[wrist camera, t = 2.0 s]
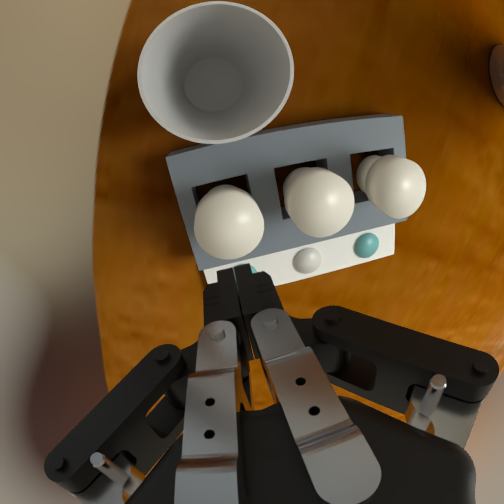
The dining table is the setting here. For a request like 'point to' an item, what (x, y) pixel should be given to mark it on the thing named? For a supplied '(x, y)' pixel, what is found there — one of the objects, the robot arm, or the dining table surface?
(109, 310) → the dining table surface
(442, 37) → the dining table surface
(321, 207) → the button
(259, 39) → the cup
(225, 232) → the button
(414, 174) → the button
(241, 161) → the board
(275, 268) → the strip
